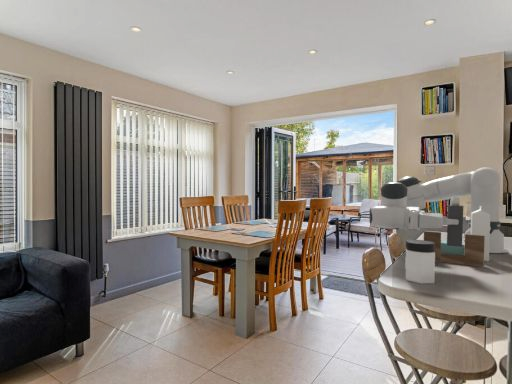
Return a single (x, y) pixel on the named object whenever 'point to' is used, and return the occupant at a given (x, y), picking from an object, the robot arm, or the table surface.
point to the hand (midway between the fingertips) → (458, 221)
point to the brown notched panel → (471, 251)
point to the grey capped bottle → (455, 230)
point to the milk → (481, 228)
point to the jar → (420, 261)
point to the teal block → (451, 249)
